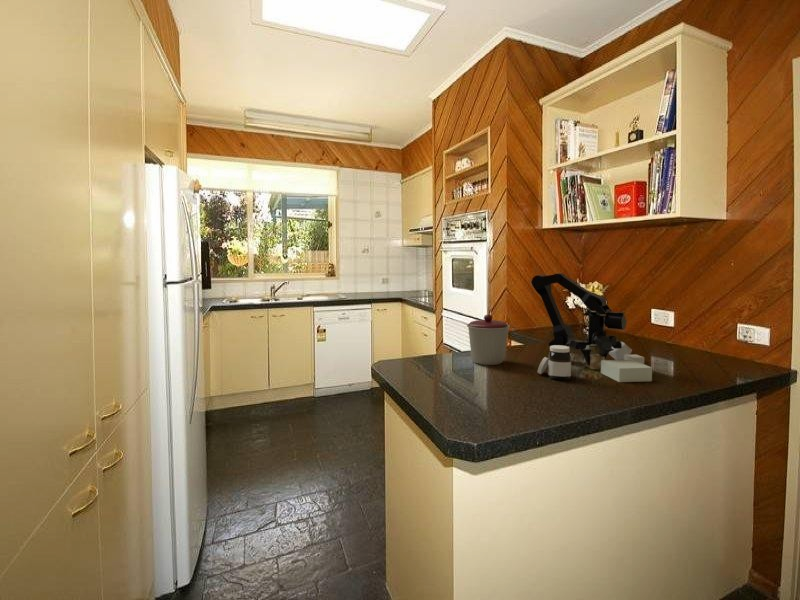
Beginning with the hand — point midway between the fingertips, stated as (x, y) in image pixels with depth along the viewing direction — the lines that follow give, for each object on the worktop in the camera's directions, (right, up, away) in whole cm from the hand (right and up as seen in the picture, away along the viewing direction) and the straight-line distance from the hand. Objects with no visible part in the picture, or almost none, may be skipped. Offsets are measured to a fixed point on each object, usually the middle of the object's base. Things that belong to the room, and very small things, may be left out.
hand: (594, 365), depth 162 cm
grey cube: (+15, -1, -1) cm, 15 cm away
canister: (-41, -1, +10) cm, 43 cm away
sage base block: (+5, -2, -14) cm, 15 cm away
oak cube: (0, -1, 0) cm, 1 cm away
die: (+17, 0, +12) cm, 20 cm away
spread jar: (-22, -3, -12) cm, 25 cm away
